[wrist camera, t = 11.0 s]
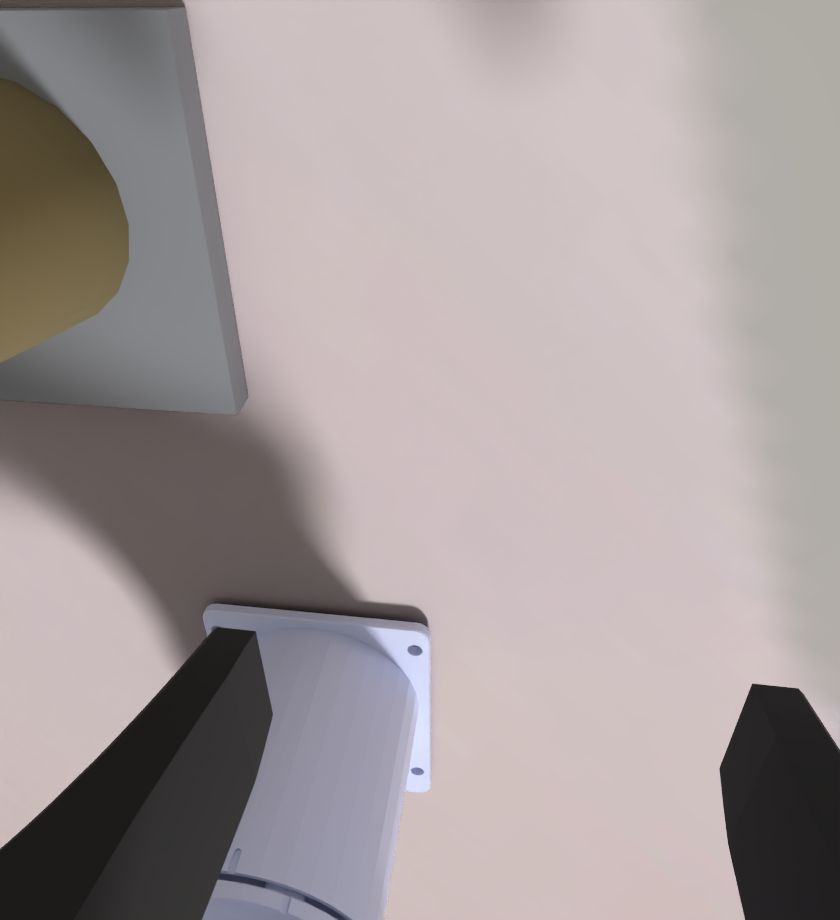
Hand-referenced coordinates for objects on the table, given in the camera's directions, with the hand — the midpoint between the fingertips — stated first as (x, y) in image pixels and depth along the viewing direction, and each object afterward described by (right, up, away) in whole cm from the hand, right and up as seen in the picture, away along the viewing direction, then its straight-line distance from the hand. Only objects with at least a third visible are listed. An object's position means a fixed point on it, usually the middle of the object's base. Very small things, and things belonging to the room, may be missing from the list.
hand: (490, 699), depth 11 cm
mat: (-11, +10, +8) cm, 16 cm away
